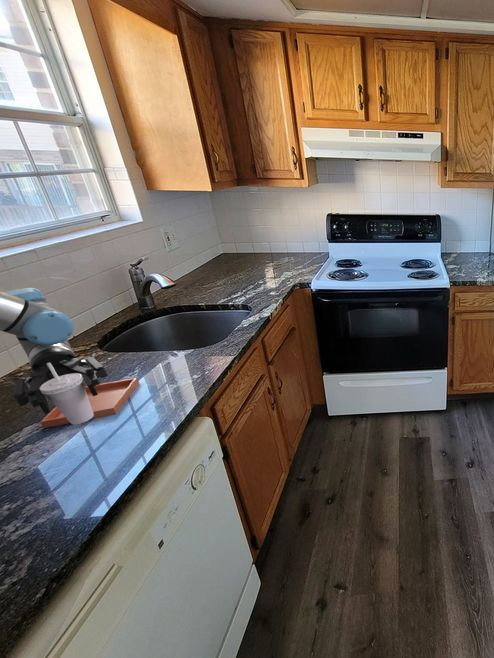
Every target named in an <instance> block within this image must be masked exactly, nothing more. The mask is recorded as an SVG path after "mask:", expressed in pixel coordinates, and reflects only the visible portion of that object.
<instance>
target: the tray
mask: <svg viewBox="0 0 494 658" xmlns="http://www.w3.org/2000/svg"><path fill="white" fill-rule="evenodd" d="M139 385H140V381H139V379H138V377H133V378H132V377H131V378H126V379H122V380H115V381H110V382H109V381H108V382H103V383H100V384H99V385H96V386H94V388H95V390H96V392H97V394H98V395H96V396H93V395H92V393H91V391H90V389H89V388H88V386H87V385H86V386H84V387H85V390H86V393H87V396H88V399H89V402H90V405H91V408H92V411H93V414H94V416H93V417H92V418H91V419H90V420H93V419H98V418H102V417H108V416H113V415H117V414H118V413H119V411H120V410H121V409H122V407H123V406H124V405H125V403H126V402H127V401H128V399H129V398H130V397H131V395H132V394H133V393H134V391H135V390H136V388H138V386H139ZM40 424H41V425H42V427H43V428H44V429H46V428H50V427H52V428H53V427H57V426H61V425H66V424H71V423H70V422H69V421H68V419H67V418H66V417H65V416H64V415H63V414H62V413H61V411H60V410H59V409H58V408H57V407H56V406H55V407H53V409H52V410H50V413H47V414H46V416H45V417H44V418H43V419H41V420H40Z"/></svg>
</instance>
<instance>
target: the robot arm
mask: <svg viewBox="0 0 494 658" xmlns="http://www.w3.org/2000/svg"><path fill="white" fill-rule="evenodd" d="M74 328H75V325H74V323H73V321H72V319H71V318H70V317H69V316H68V315H67V314H66V313H65V312H62V311H59V310H58V309H56V308H54V307H53V306H51V305H49V304H48V302H47V299H46V297H45V296H44V295H43V293H42V292H41V290H39V289H38V288H35V287H25V288H18V289H13V290H8V291H5V292H4V291H1V290H0V332H4V333H6V334H10V335H14V336H15V337H16V339H17V341H18V343H19V344H20V346H21V347H22V349H23V351H24V352H25V354H26V356H27V359H28V363H29V366H30V370H31V373H30V374H28V375H29V376H26V377H14V378H12V379H11V382H12V384H13V385H14V387H13V392H12V396H13V398H14V400H15V401H16V403H17V404H18V406H19V407H23V406H26V405H28V404H31V406H32V407H33V408H37V407H40V409H41V410H42V411H43V413H44V415H48V414H49V413H50V412H51V409H50V406H49V403H48V400H47V398H46V395H44V394H42V393H41V391H40V387H41V385H43V384H44V383H45V382H47V381H49V380H51V379H54V378H55V377H54V376H53V374H52V372H51V371H50V369H49V367H48V366H47V363H51V365H52V366H53V368H54V370H55V372H56V373H57V375H58V377H59V376H62V375H66V374H73V373H78V374H81V375H82V377H83V378H84V382H85V384H86V386H88V388H89V389H90V391H91V393H92V395H93V396H96V395H98V394H97V392H96V390H95V388H94V386H96V385H99V384H101V382H100V380H99V379H100V378H101V379H104V378H107V377H108V373H107V371H106V369H105V367H104V365H103V364H102V363H100V362H99V359H98V358H97V355H96V354H95V353H92V354H89V355H87V357H85V358H84V359H80V358H78V357H77V355H76V354H75V352H74V349H73V348H72V347H71V343H70V342H69V340H68V339H69V338H70V337H72V335H73V332H74ZM84 366H86V367H87V368H86V367H84Z"/></svg>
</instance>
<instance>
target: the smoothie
mask: <svg viewBox="0 0 494 658" xmlns="http://www.w3.org/2000/svg"><path fill="white" fill-rule="evenodd" d="M47 366H48V367H49V369H50V371H51V372H52V374H53V376H54V377H55V378H54V379H51V380H49V381H47V382H45V383H44V384H43V385H41V387H40V391H41V393H42V394H44V396H45V397H47V398H48V399H49V401H50V402H51V403H52V404H53V405H54V406H55V407H57V408H58V409H59V410H60V411H61V413H62V414H63V415H64V416H65V417H66V418H67V419H68V421H69V422H70V423H69V424H71V425H81V424H83V423H86V422H88V421H89V420H92V419H91V418H92V417H93V416H94V414H93V411H92V408H91V405H90V402H89V399H88V396H87V393H86V390H85V387H86V386H85V384H84V382H85V380H84V378H83V377H82V375H81V374H78V373H73V374H66V375H62V376H59V377H58V375H57V373H56V372H55V370H54V368H53V366H52V365H51V363H47Z"/></svg>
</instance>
